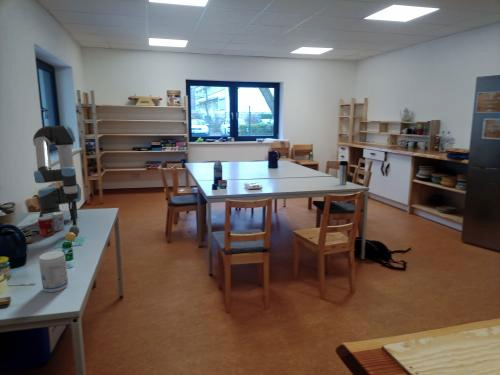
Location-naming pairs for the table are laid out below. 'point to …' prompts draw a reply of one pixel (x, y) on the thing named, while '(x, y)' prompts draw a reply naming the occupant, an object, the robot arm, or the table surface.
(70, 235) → the orange ball
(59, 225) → the light bulb box
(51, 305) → the table surface
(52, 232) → the canned food
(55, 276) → the supplement tub
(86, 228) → the table surface
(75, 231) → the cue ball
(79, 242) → the teal mark
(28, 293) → the table surface
